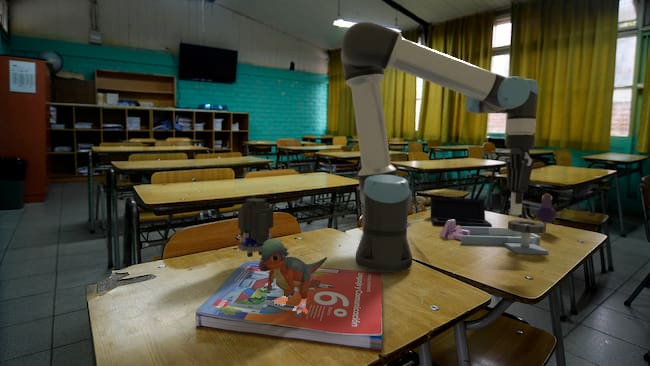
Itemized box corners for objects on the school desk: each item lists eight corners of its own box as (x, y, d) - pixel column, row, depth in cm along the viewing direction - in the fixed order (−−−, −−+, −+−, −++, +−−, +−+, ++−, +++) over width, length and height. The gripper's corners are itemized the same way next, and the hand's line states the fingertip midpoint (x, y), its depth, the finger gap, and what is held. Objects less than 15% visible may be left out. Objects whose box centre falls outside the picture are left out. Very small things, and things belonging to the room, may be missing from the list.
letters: (471, 239, 127) (472, 221, 126) (458, 241, 123) (459, 223, 122) (451, 234, 133) (452, 217, 133) (438, 236, 130) (439, 219, 129)
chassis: (473, 252, 110) (474, 226, 109) (447, 232, 135) (448, 211, 134) (557, 254, 110) (559, 228, 109) (515, 234, 134) (517, 213, 134)
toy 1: (264, 250, 107) (265, 197, 106) (278, 257, 100) (278, 201, 98) (235, 254, 102) (235, 198, 101) (247, 262, 95) (247, 203, 94)
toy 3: (564, 214, 139) (547, 205, 144) (563, 198, 131) (545, 189, 136) (544, 236, 139) (528, 226, 144) (542, 221, 131) (524, 211, 136)
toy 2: (257, 325, 68) (260, 243, 66) (243, 301, 78) (245, 229, 76) (348, 310, 76) (353, 236, 75) (325, 290, 86) (328, 224, 84)
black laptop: (433, 227, 144) (435, 201, 143) (429, 219, 160) (430, 196, 159) (491, 231, 141) (493, 204, 140) (481, 222, 157) (482, 198, 156)
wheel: (517, 233, 109) (518, 226, 109) (503, 226, 119) (503, 219, 118) (551, 234, 109) (551, 227, 109) (533, 227, 118) (534, 220, 118)
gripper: (546, 133, 105) (540, 218, 107) (522, 135, 118) (517, 210, 120) (518, 133, 105) (513, 217, 107) (497, 134, 118) (493, 210, 120)
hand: (515, 214), depth 113 cm, fingers closed
